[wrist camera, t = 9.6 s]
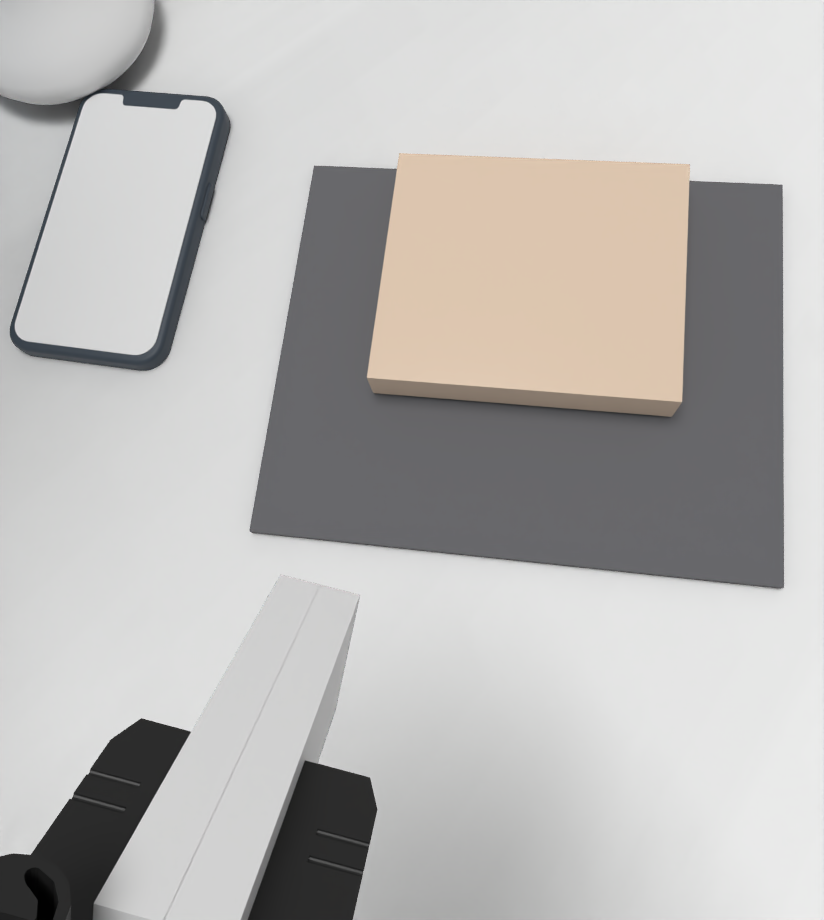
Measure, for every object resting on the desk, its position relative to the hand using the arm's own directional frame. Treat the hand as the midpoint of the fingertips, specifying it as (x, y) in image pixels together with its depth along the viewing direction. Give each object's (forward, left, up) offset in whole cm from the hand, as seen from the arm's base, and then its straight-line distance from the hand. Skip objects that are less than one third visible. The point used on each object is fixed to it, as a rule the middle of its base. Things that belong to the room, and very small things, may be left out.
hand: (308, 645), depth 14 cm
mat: (-11, +11, -21) cm, 26 cm away
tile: (-9, +9, -19) cm, 23 cm away
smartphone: (-27, -6, -21) cm, 35 cm away
